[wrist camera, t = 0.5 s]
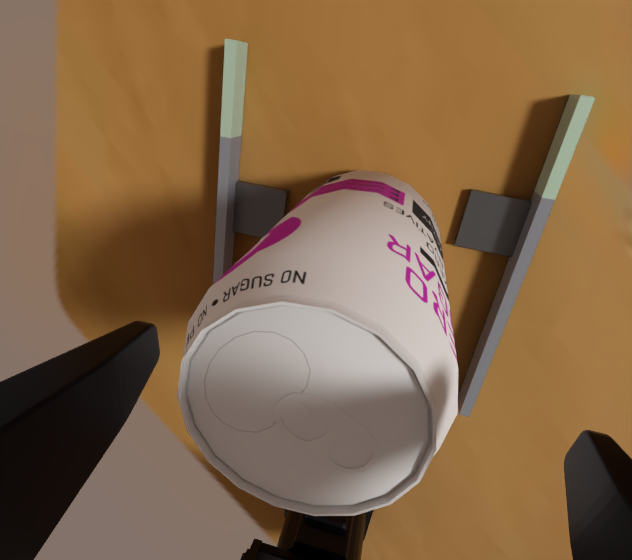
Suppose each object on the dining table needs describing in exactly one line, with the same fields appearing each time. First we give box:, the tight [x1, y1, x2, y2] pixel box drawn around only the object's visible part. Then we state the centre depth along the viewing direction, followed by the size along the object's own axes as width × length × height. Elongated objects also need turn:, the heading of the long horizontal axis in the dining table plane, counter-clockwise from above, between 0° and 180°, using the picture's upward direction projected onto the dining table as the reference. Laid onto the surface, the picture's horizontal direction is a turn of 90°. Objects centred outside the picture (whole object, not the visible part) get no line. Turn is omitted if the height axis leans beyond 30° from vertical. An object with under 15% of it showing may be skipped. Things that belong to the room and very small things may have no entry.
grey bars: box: [213, 39, 595, 417], centre depth 24 cm, size 18×17×2 cm
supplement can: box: [177, 170, 458, 516], centre depth 18 cm, size 8×8×15 cm
